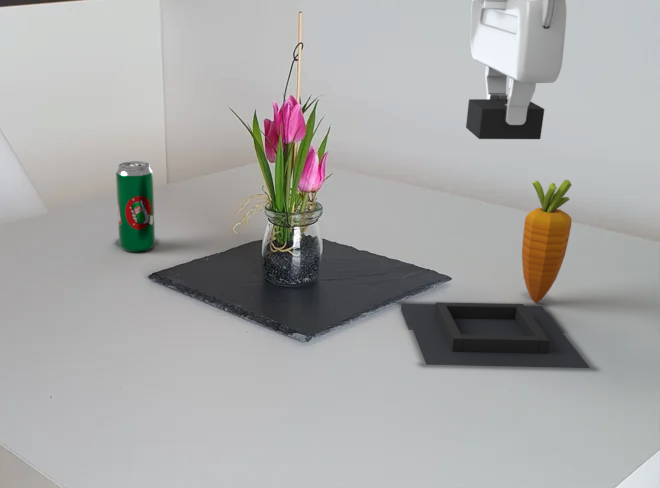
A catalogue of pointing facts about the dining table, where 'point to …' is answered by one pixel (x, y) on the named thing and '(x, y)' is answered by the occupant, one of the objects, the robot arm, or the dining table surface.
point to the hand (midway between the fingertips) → (504, 117)
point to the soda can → (135, 206)
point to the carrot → (545, 240)
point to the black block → (502, 120)
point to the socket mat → (489, 335)
